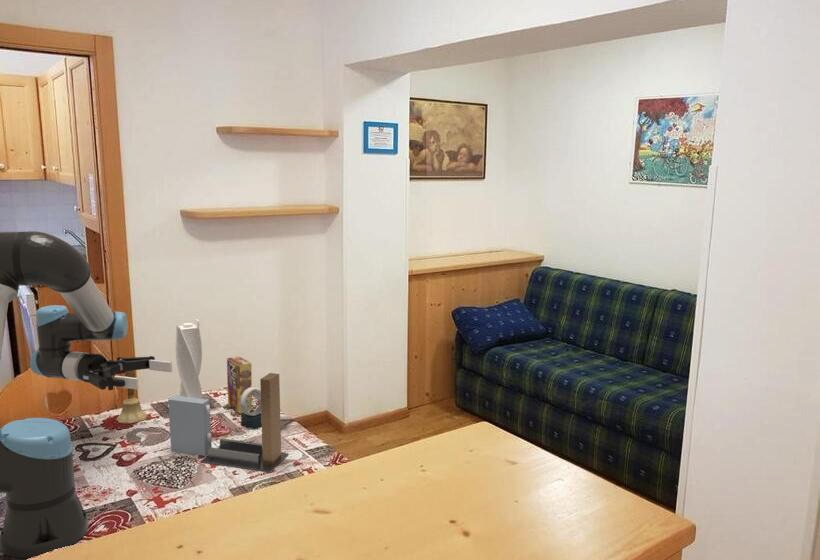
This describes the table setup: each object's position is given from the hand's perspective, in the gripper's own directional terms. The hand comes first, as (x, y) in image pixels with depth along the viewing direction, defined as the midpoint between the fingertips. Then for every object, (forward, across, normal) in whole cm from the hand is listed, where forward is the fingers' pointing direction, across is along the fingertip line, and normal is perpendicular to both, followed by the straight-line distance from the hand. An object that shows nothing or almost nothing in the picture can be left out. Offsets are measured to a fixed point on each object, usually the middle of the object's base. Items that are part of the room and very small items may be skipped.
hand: (155, 375), depth 166 cm
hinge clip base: (+25, 0, -19) cm, 32 cm away
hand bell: (-19, -14, -20) cm, 31 cm away
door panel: (+10, 0, -19) cm, 22 cm away
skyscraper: (-7, -26, -20) cm, 33 cm away
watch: (+17, -20, -20) cm, 32 cm away
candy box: (+7, -30, -20) cm, 36 cm away
